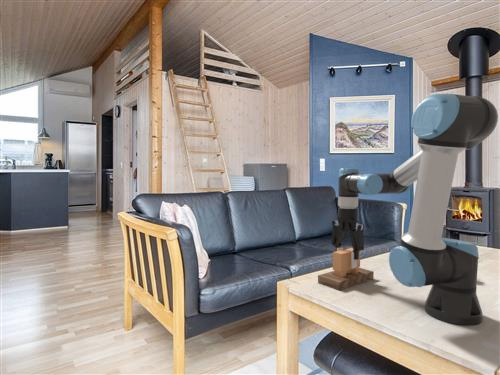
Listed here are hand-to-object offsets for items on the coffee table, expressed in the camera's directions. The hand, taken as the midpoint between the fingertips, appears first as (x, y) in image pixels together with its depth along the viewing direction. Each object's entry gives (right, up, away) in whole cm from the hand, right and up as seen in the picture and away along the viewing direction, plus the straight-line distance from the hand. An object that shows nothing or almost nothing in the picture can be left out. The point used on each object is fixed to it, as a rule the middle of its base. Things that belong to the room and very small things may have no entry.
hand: (346, 265), depth 135 cm
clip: (0, -6, 0) cm, 6 cm away
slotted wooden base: (0, -6, 0) cm, 6 cm away
